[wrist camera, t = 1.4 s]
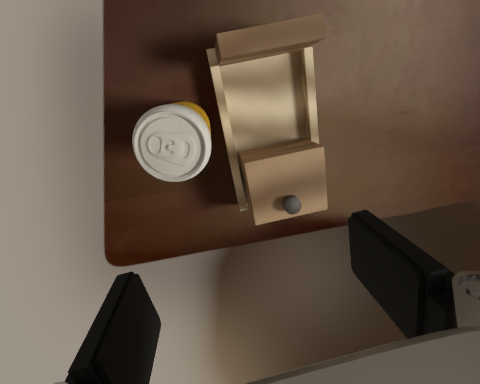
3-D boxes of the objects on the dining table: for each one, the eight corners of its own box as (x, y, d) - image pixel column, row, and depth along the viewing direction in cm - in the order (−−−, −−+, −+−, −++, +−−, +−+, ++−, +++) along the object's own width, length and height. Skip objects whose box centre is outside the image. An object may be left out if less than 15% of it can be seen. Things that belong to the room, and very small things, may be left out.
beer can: (205, 153, 34) (204, 192, 20) (160, 144, 33) (125, 179, 19) (214, 107, 32) (218, 115, 18) (165, 96, 31) (131, 96, 17)
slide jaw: (238, 152, 33) (245, 166, 27) (304, 138, 34) (328, 148, 27) (248, 205, 36) (257, 230, 30) (309, 192, 37) (332, 213, 30)
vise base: (206, 50, 30) (205, 35, 22) (303, 32, 30) (334, 11, 23) (238, 203, 37) (245, 230, 30) (315, 187, 38) (341, 209, 30)
